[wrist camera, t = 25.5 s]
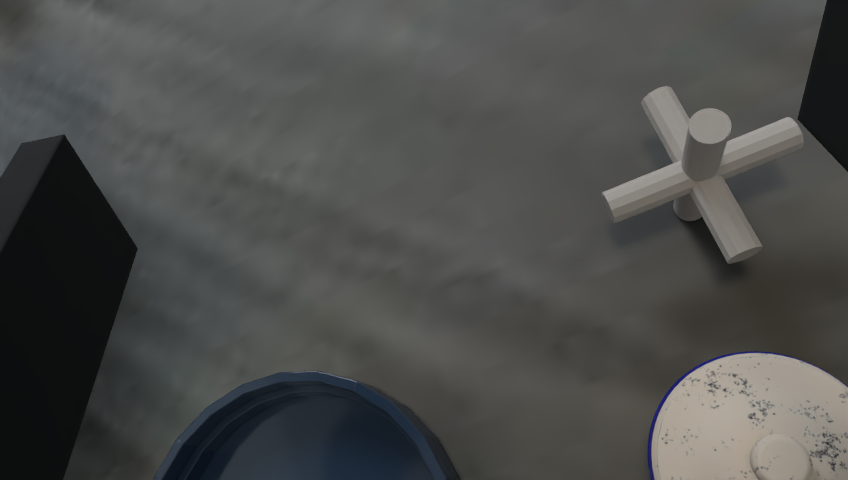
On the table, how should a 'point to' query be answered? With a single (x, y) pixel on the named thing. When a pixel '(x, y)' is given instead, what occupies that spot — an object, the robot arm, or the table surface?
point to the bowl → (306, 435)
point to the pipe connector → (703, 170)
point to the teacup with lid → (751, 422)
